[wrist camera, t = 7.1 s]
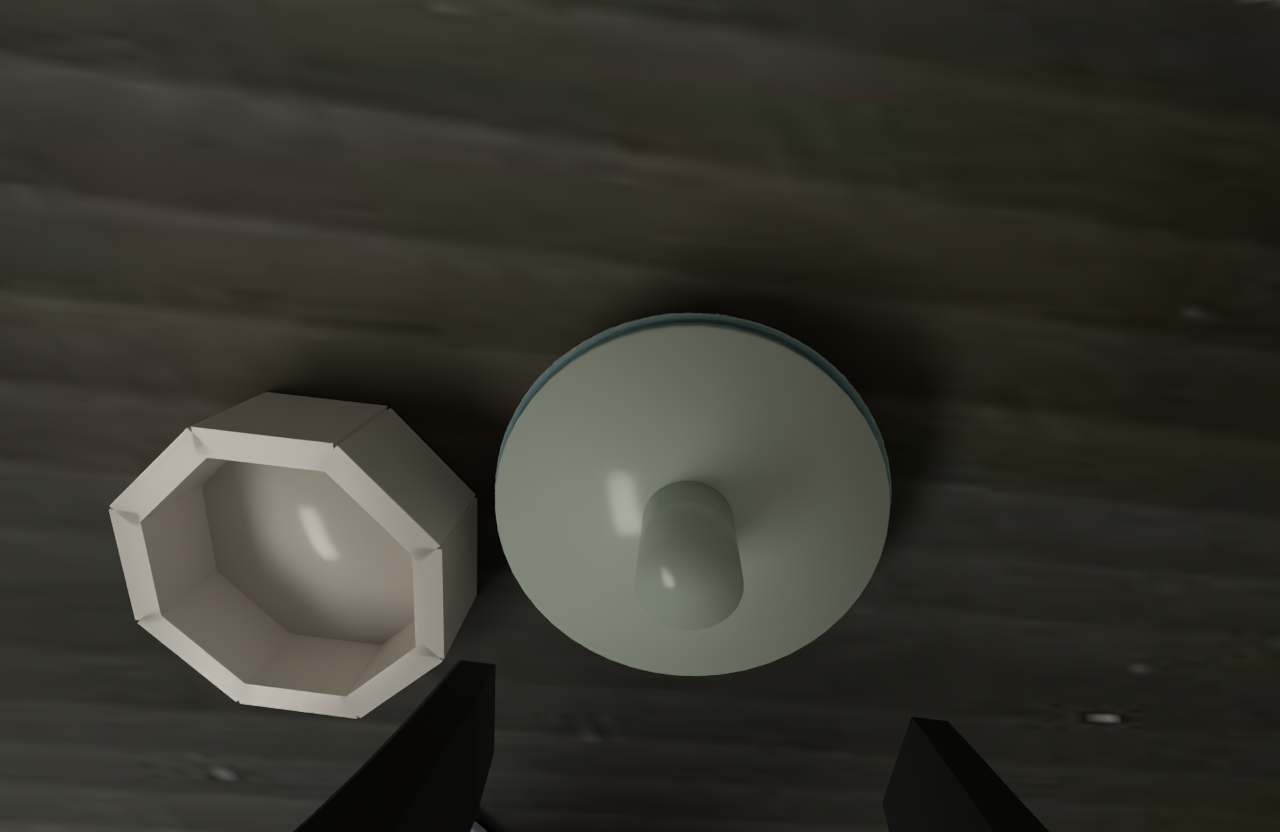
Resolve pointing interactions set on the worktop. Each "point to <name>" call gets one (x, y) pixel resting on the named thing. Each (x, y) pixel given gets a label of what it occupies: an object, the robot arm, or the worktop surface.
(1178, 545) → the worktop surface
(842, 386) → the saucer
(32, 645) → the worktop surface
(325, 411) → the bowl
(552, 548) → the lid
